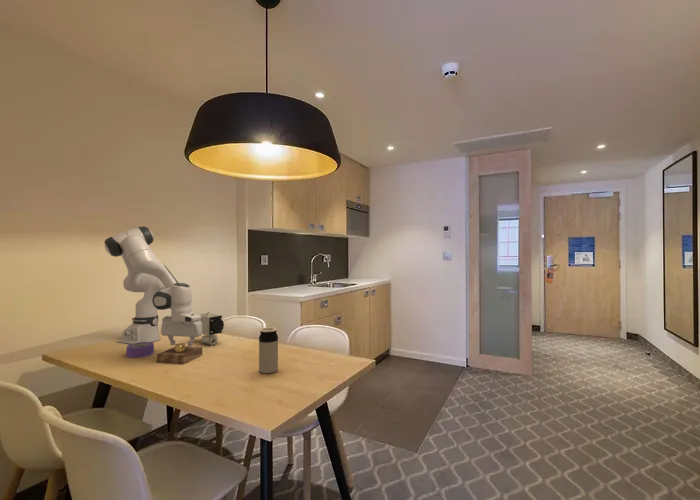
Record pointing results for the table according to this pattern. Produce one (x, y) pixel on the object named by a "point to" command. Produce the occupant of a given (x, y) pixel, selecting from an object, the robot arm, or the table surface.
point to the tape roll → (140, 349)
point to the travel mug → (268, 350)
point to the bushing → (180, 347)
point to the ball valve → (211, 327)
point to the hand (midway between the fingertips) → (181, 345)
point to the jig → (179, 355)
